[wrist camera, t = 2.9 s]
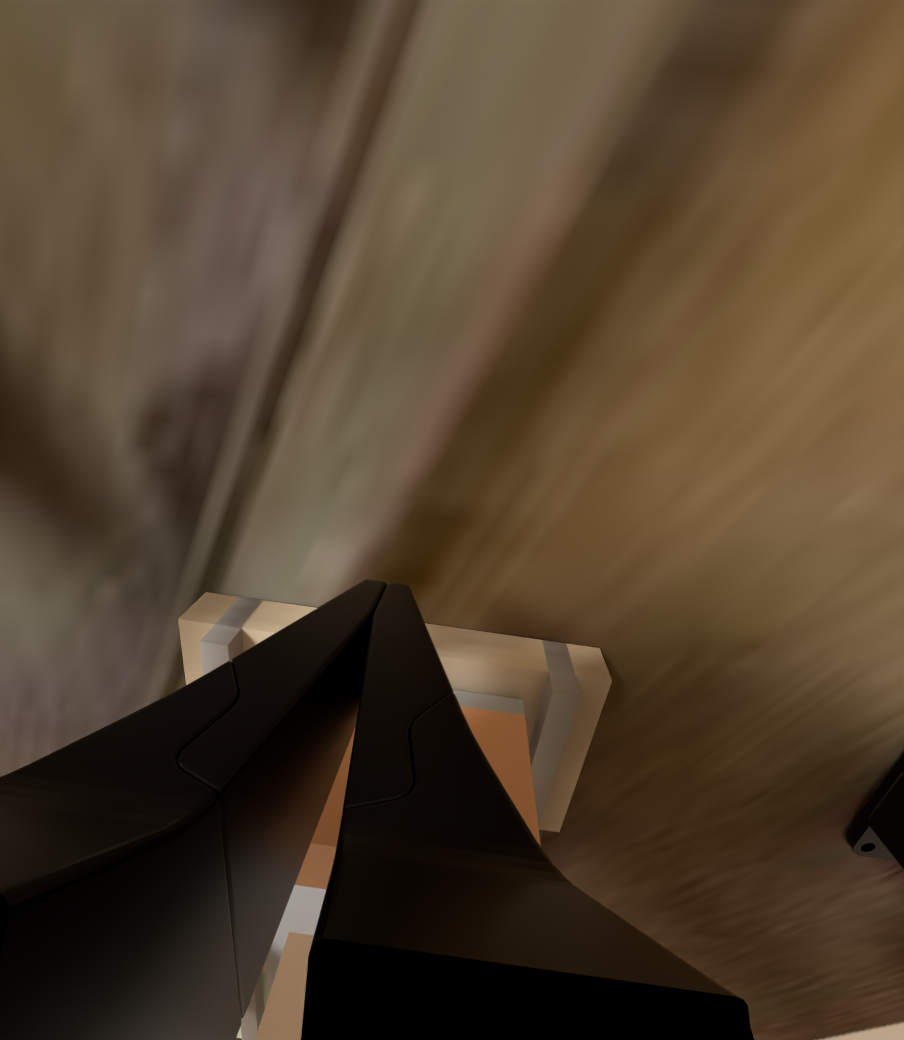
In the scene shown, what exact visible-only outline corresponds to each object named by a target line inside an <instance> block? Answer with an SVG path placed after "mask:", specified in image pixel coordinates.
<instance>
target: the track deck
mask: <svg viewBox="0 0 904 1040" xmlns="http://www.w3.org/2000/svg"><path fill="white" fill-rule="evenodd" d="M315 609H317V608H314V607H307V606H300V605H293V604H286V603H279V602H272V601H265V600H258V599H251V598H244V597H237V596H230V595H223V594H216V593H209V592H206V593H205V594H204V595H202V596H201V597H200V598H199V599H198V600H197V601H196V602H195V603H194V604H193V605H192V606H191V607H190V608H189V609H188V610H187V611H186V612H185V613H184V614H183V615H182V616H181V617H180V618H179V619H178V623H179V631H180V639H181V647H182V655H183V662H184V670H185V678H186V685H188V684H189V683H191V682H193V681H195V680H196V679H198V678H200V677H202V676H203V675H205V674H207V673H209V672H210V671H212V670H214V669H215V668H217V667H219V666H221V665H222V664H224V663H226V662H227V661H231V662H232V659H233V658H234V657H236V656H238V655H239V654H241V653H243V652H244V651H246V650H248V649H249V648H251V647H253V646H254V645H256V644H258V643H260V642H261V641H263V640H265V639H266V638H268V637H270V636H271V635H273V634H275V633H276V632H278V631H280V630H281V629H283V628H285V627H286V626H288V625H290V624H291V623H293V622H295V621H296V620H298V619H300V618H302V617H303V616H305V615H307V614H308V613H310V612H312V611H313V610H315ZM425 625H426V627H427V629H428V632H429V634H430V637H431V639H432V641H433V644H434V646H435V648H436V651H437V653H438V656H439V658H440V660H441V663H442V665H443V667H444V670H445V672H446V675H447V677H448V679H449V682H450V684H451V686H452V689H453V690H459V691H466V692H473V693H480V694H487V695H494V696H501V697H508V698H515V699H522V700H523V704H524V713H525V721H526V729H527V737H528V746H529V754H530V762H531V771H532V779H533V787H534V795H535V804H536V812H537V820H538V829H539V837H540V842H541V839H542V836H543V833H544V830H546V831H553V832H560V829H561V826H562V823H563V821H564V818H565V815H566V812H567V809H568V806H569V803H570V800H571V798H572V795H573V792H574V789H575V786H576V783H577V780H578V777H579V775H580V772H581V769H582V766H583V763H584V760H585V757H586V754H587V752H588V749H589V746H590V743H591V740H592V737H593V734H594V731H595V729H596V726H597V723H598V720H599V717H600V714H601V711H602V708H603V706H604V703H605V700H606V697H607V694H608V691H609V688H610V685H611V683H612V679H611V677H610V674H609V671H608V669H607V666H606V663H605V661H604V658H603V656H602V653H601V650H600V648H595V647H588V646H581V645H574V644H567V643H560V642H553V641H546V640H539V639H532V638H525V637H518V636H511V635H504V634H497V633H490V632H483V631H475V630H468V629H461V628H454V627H447V626H440V625H433V624H426V623H425ZM271 988H272V986H267V970H266V961H265V964H264V966H263V969H262V971H261V974H260V977H259V979H258V982H257V985H256V987H255V990H254V992H253V995H252V998H251V1000H250V1003H249V1005H248V1008H247V1011H246V1013H245V1016H244V1017H243V1018H242V1019H241V1022H242V1023H241V1027H240V1029H239V1032H238V1035H237V1037H236V1038H242V1040H255V1038H256V1035H257V1032H258V1029H259V1026H260V1023H261V1019H262V1016H263V1013H264V1010H265V1007H266V1003H267V1000H268V997H269V994H270V991H271Z"/></svg>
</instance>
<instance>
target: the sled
mask: <svg viewBox="0 0 904 1040" xmlns="http://www.w3.org/2000/svg"><path fill="white" fill-rule="evenodd" d="M453 693H454V694H455V695H456V698H457V700H458V702H459V705H460V707H461V710H462V712H463V714H464V716H465V718H466V720H467V722H468V725H469V727H470V729H471V731H472V733H473V735H474V737H475V739H476V740H477V742H478V744H479V746H480V747H481V749H482V751H483V753H484V754H485V756H486V758H487V760H488V762H489V763H490V765H491V767H492V768H493V770H494V771H495V773H496V775H497V776H498V778H499V780H500V781H501V783H502V785H503V786H504V788H505V790H506V791H507V793H508V795H509V796H510V798H511V799H512V801H513V803H514V804H515V806H516V808H517V809H518V811H519V813H520V814H521V816H522V818H523V819H524V821H525V823H526V824H527V826H528V827H529V829H530V831H531V832H532V834H533V836H534V837H535V839H536V840H537V842H538V844H539V845H540V837H539V829H538V820H537V812H536V804H535V795H534V787H533V779H532V771H531V762H530V754H529V746H528V737H527V729H526V721H525V713H524V704H523V700H522V699H515V698H508V697H501V696H494V695H487V694H480V693H473V692H466V691H459V690H453ZM354 732H355V729H354V731H353V734H352V736H351V739H350V742H349V744H348V747H347V750H346V752H345V755H344V757H343V760H342V763H341V765H340V768H339V770H338V773H337V776H336V778H335V781H334V783H333V786H332V789H331V791H330V794H329V797H328V799H327V802H326V804H325V807H324V810H323V812H322V815H321V817H320V820H319V823H318V825H317V828H316V830H315V833H314V836H313V838H312V841H311V844H310V846H309V849H308V851H307V854H306V857H305V859H304V862H303V864H302V867H301V870H300V872H299V875H298V877H297V880H296V883H295V885H294V888H293V891H292V893H291V896H290V898H289V901H288V904H287V906H286V909H285V911H284V914H283V917H282V919H281V922H280V924H279V927H278V930H277V932H276V935H275V938H274V940H273V943H272V945H271V948H270V951H269V953H268V956H267V958H266V970H267V986H272V988H271V991H270V994H269V997H268V1000H267V1003H266V1007H265V1010H264V1013H263V1016H262V1019H261V1023H260V1026H259V1029H258V1032H257V1035H256V1038H255V1040H301V1033H302V1021H303V1010H304V999H305V987H306V976H307V965H308V955H309V952H310V948H311V944H312V940H313V937H314V933H315V929H316V926H317V922H318V918H319V915H320V911H321V907H322V903H323V900H324V896H325V892H326V889H327V885H328V881H329V878H330V874H331V870H332V866H333V862H334V857H335V852H336V847H337V841H338V835H339V830H340V823H341V818H342V810H343V804H344V797H345V791H346V784H347V778H348V771H349V765H350V758H351V752H352V745H353V739H354ZM540 847H541V845H540Z"/></svg>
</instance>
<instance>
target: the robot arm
mask: <svg viewBox="0 0 904 1040" xmlns="http://www.w3.org/2000/svg"><path fill="white" fill-rule="evenodd" d="M354 729H355V732H354V739H353V745H352V752H351V758H350V765H349V771H348V778H347V784H346V791H345V797H344V804H343V810H342V818H341V823H340V830H339V835H338V841H337V847H336V852H335V857H334V862H333V866H332V870H331V874H330V878H329V881H328V885H327V889H326V892H325V896H324V900H323V903H322V907H321V911H320V915H319V918H318V922H317V926H316V929H315V933H314V937H313V940H312V944H311V948H310V952H309V955H308V965H307V976H306V987H305V999H304V1010H303V1021H302V1033H301V1040H754V1038H753V1034H752V1031H751V1027H750V1021H749V1012H748V1006H747V1004H746V1003H745V1001H744V1000H743V999H741V998H739V997H738V996H736V995H735V994H733V993H731V992H730V991H728V990H727V989H725V988H723V987H722V986H720V985H719V984H717V983H716V982H715V981H713V980H712V979H710V978H709V977H707V976H706V975H704V974H703V973H701V972H700V971H698V970H697V969H695V968H694V967H693V966H691V965H690V964H688V963H687V962H685V961H684V960H682V959H681V958H679V957H678V956H676V955H675V954H673V953H672V952H671V951H669V950H668V949H666V948H665V947H663V946H662V945H660V944H659V943H657V942H656V941H654V940H653V939H651V938H650V937H649V936H647V935H646V934H644V933H643V932H641V931H640V930H638V929H637V928H635V927H634V926H632V925H631V924H629V923H628V922H627V921H625V920H624V919H622V918H621V917H619V916H618V915H616V914H615V913H613V912H612V911H610V910H609V909H607V908H606V907H604V906H603V905H602V904H600V903H599V902H597V901H596V900H594V899H593V898H591V897H590V896H588V895H587V894H585V893H584V892H582V891H581V890H580V889H578V888H577V887H576V886H574V885H573V884H572V883H571V882H570V881H569V880H568V879H567V878H565V877H564V876H563V875H562V873H561V872H560V871H559V870H558V869H557V868H556V867H555V866H554V864H553V863H552V862H551V861H550V859H549V858H548V857H547V855H546V854H545V853H544V851H543V850H542V848H541V847H540V845H539V844H538V842H537V840H536V839H535V837H534V836H533V834H532V832H531V831H530V829H529V827H528V826H527V824H526V823H525V821H524V819H523V818H522V816H521V814H520V813H519V811H518V809H517V808H516V806H515V804H514V803H513V801H512V799H511V798H510V796H509V795H508V793H507V791H506V790H505V788H504V786H503V785H502V783H501V781H500V780H499V778H498V776H497V775H496V773H495V771H494V770H493V768H492V767H491V765H490V763H489V762H488V760H487V758H486V756H485V754H484V753H483V751H482V749H481V747H480V746H479V744H478V742H477V740H476V739H475V737H474V735H473V733H472V731H471V729H470V727H469V725H468V722H467V720H466V718H465V716H464V714H463V712H462V710H461V707H460V705H459V702H458V700H457V698H456V695H455V694H454V693H453V689H452V686H451V684H450V682H449V679H448V677H447V675H446V672H445V670H444V667H443V665H442V663H441V660H440V658H439V656H438V653H437V651H436V648H435V646H434V644H433V641H432V639H431V637H430V634H429V632H428V629H427V627H426V625H425V622H424V620H423V618H422V615H421V613H420V610H419V608H418V606H417V603H416V601H415V599H414V596H413V594H412V591H411V589H410V587H409V586H408V585H405V584H398V583H388V584H386V583H385V582H383V581H377V580H370V579H366V580H364V581H362V582H360V583H359V584H357V585H355V586H354V587H352V588H350V589H349V590H347V591H345V592H344V593H342V594H340V595H338V596H337V597H335V598H333V599H332V600H330V601H328V602H327V603H325V604H323V605H322V606H320V607H318V608H317V609H315V610H313V611H312V612H310V613H308V614H307V615H305V616H303V617H302V618H300V619H298V620H296V621H295V622H293V623H291V624H290V625H288V626H286V627H285V628H283V629H281V630H280V631H278V632H276V633H275V634H273V635H271V636H270V637H268V638H266V639H265V640H263V641H261V642H260V643H258V644H256V645H254V646H253V647H251V648H249V649H248V650H246V651H244V652H243V653H241V654H239V655H238V656H236V657H234V658H233V659H232V662H231V661H227V662H226V663H224V664H222V665H221V666H219V667H217V668H215V669H214V670H212V671H210V672H209V673H207V674H205V675H203V676H202V677H200V678H198V679H196V680H195V681H193V682H191V683H189V684H188V685H186V686H184V687H182V688H180V689H179V690H177V691H175V692H173V693H171V694H169V695H167V696H165V697H163V698H161V699H160V700H158V701H156V702H154V703H152V704H150V705H148V706H146V707H144V708H142V709H140V710H138V711H136V712H134V713H132V714H130V715H128V716H126V717H124V718H122V719H120V720H118V721H116V722H114V723H112V724H110V725H108V726H106V727H104V728H102V729H100V730H98V731H96V732H94V733H92V734H90V735H88V736H86V737H84V738H82V739H79V740H77V741H75V742H73V743H71V744H69V745H67V746H65V747H63V748H61V749H59V750H57V751H55V752H53V753H51V754H49V755H47V756H45V757H43V758H41V759H39V760H37V761H35V762H33V763H31V764H29V765H27V766H24V767H22V768H20V769H18V770H16V771H13V772H11V773H9V774H7V775H4V776H1V777H0V1040H236V1037H237V1035H238V1032H239V1029H240V1027H241V1023H242V1022H241V1019H242V1018H243V1017H244V1016H245V1013H246V1011H247V1008H248V1005H249V1003H250V1000H251V998H252V995H253V992H254V990H255V987H256V985H257V982H258V979H259V977H260V974H261V971H262V969H263V966H264V964H265V961H266V958H267V956H268V953H269V951H270V948H271V945H272V943H273V940H274V938H275V935H276V932H277V930H278V927H279V924H280V922H281V919H282V917H283V914H284V911H285V909H286V906H287V904H288V901H289V898H290V896H291V893H292V891H293V888H294V885H295V883H296V880H297V877H298V875H299V872H300V870H301V867H302V864H303V862H304V859H305V857H306V854H307V851H308V849H309V846H310V844H311V841H312V838H313V836H314V833H315V830H316V828H317V825H318V823H319V820H320V817H321V815H322V812H323V810H324V807H325V804H326V802H327V799H328V797H329V794H330V791H331V789H332V786H333V783H334V781H335V778H336V776H337V773H338V770H339V768H340V765H341V763H342V760H343V757H344V755H345V752H346V750H347V747H348V744H349V742H350V739H351V736H352V734H353V731H354ZM846 842H847V843H848V844H849V846H850V847H851V848H852V850H853V851H854V852H855V853H856V854H857V855H860V856H866V857H873V858H880V859H888V860H895V861H897V862H898V863H899V865H900V866H901V867H902V869H903V870H904V757H903V759H902V760H901V761H900V763H899V764H898V766H897V767H896V768H895V770H894V771H893V772H892V774H891V775H890V776H889V778H888V779H887V781H886V782H885V783H884V785H883V786H882V787H881V789H880V790H879V791H878V793H877V794H876V796H875V797H874V798H873V800H872V801H871V802H870V804H869V805H868V806H867V808H866V809H865V810H864V812H863V813H862V815H861V816H860V817H859V819H858V820H857V821H856V823H855V824H854V825H853V827H852V828H851V830H850V831H849V832H848V834H847V835H846Z"/></svg>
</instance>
